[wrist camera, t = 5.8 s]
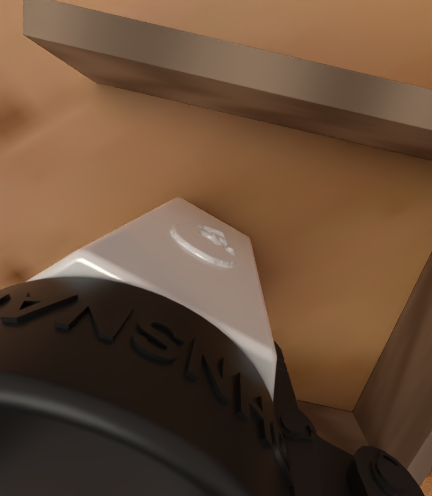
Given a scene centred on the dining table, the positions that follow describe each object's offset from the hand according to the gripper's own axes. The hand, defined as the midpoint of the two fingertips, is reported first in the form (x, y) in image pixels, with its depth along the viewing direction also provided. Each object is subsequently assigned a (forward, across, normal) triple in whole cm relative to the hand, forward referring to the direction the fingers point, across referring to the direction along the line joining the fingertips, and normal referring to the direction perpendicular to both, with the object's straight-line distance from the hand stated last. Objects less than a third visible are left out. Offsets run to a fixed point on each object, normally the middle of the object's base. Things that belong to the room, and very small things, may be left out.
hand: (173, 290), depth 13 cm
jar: (+3, 0, 0) cm, 3 cm away
